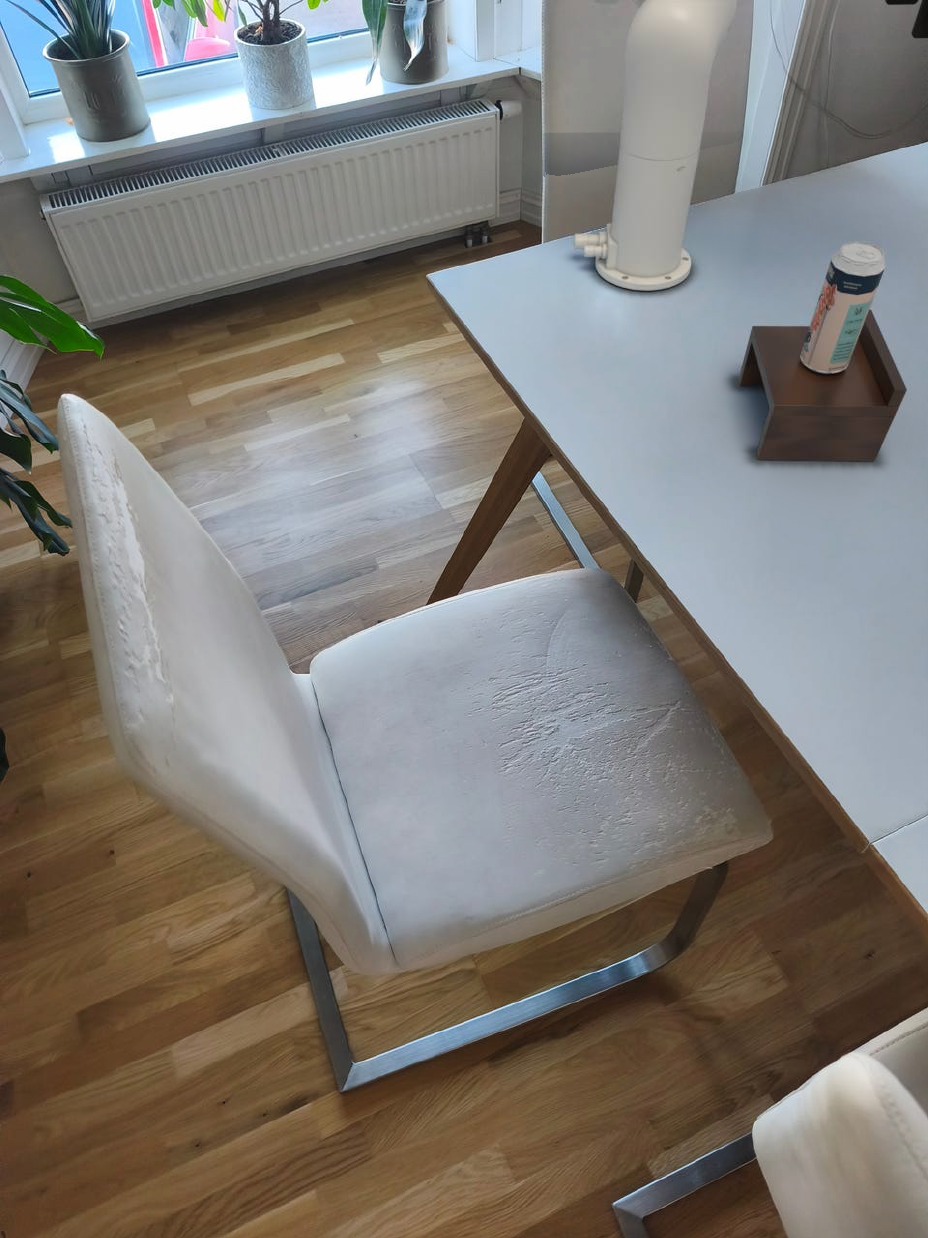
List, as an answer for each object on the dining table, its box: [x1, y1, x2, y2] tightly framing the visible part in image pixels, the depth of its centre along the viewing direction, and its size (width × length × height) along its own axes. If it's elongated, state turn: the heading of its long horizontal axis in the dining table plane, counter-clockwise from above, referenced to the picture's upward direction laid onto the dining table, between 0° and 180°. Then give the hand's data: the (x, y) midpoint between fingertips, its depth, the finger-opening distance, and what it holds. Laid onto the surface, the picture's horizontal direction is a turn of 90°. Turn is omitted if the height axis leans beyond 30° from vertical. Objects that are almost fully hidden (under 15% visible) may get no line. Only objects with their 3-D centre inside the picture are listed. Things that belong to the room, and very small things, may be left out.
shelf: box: [737, 309, 908, 463], centre depth 90 cm, size 12×14×9 cm
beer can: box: [800, 240, 886, 374], centre depth 83 cm, size 5×5×12 cm
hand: (913, 19), depth 84 cm, fingers open, 9 cm apart
